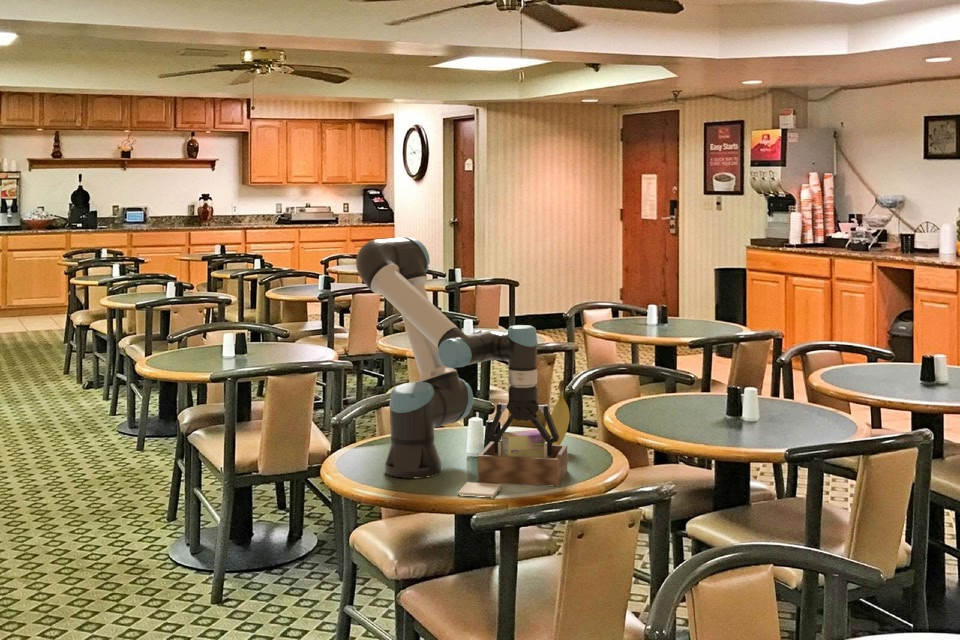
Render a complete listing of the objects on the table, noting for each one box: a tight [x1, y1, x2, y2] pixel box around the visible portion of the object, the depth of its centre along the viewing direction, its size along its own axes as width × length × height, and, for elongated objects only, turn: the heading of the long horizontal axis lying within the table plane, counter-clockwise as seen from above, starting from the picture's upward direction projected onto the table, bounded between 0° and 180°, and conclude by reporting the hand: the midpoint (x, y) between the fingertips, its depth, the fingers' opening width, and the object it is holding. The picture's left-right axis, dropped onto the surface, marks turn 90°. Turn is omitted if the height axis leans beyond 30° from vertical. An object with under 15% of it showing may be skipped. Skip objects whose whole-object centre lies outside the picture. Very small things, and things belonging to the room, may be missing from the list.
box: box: [501, 428, 545, 458], centre depth 282 cm, size 10×6×12 cm, turn 108°
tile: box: [457, 481, 502, 498], centre depth 269 cm, size 9×9×1 cm
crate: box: [477, 441, 568, 487], centre depth 283 cm, size 21×15×7 cm
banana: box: [544, 379, 570, 445], centre depth 303 cm, size 23×6×20 cm, turn 146°
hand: (523, 466), depth 283 cm, fingers closed on box, 11 cm apart
